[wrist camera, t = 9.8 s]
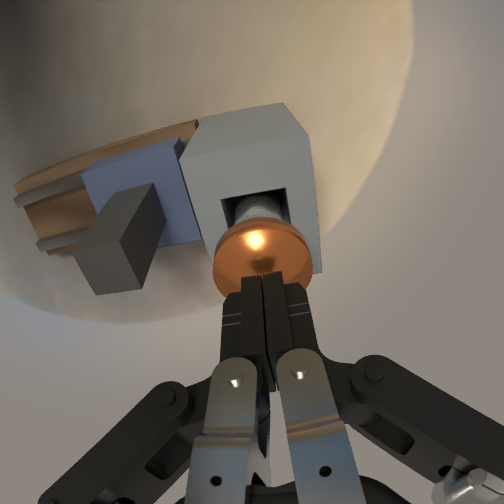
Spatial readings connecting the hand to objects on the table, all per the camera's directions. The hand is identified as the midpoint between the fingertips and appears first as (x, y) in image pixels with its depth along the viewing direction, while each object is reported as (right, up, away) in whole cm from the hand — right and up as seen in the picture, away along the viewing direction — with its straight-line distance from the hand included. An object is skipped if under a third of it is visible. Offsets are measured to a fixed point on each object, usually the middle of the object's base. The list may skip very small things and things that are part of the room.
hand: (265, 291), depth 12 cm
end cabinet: (0, +9, +12) cm, 15 cm away
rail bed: (-13, +7, +13) cm, 20 cm away
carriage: (-8, +6, +11) cm, 15 cm away
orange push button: (0, +4, +6) cm, 7 cm away
